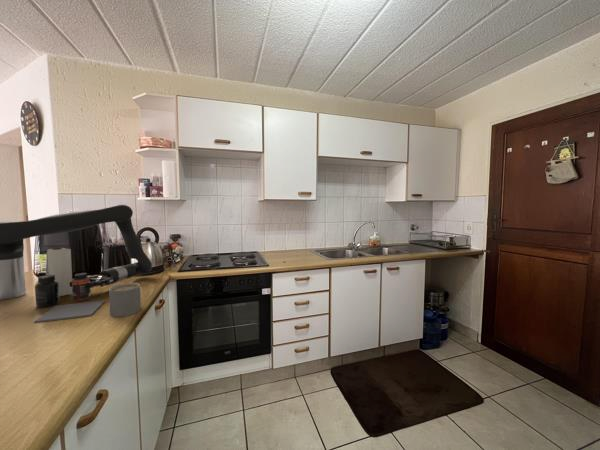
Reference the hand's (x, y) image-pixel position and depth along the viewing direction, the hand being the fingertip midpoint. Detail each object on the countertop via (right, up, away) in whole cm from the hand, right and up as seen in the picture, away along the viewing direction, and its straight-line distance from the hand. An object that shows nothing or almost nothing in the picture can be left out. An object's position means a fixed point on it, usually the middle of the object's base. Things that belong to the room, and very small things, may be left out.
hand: (77, 285), depth 105 cm
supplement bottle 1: (-8, -7, -5) cm, 12 cm away
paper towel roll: (-13, -6, +6) cm, 16 cm away
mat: (+7, -8, -10) cm, 15 cm away
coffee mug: (+27, -8, -7) cm, 29 cm away
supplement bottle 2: (0, -7, +2) cm, 7 cm away
